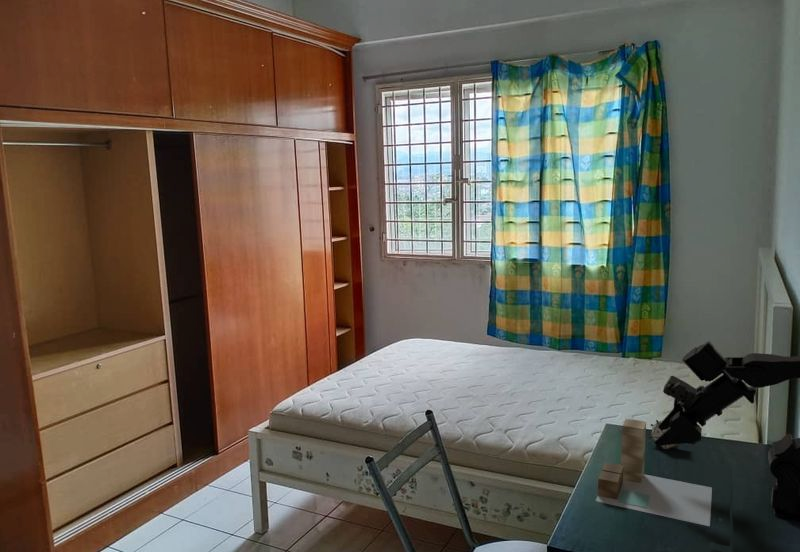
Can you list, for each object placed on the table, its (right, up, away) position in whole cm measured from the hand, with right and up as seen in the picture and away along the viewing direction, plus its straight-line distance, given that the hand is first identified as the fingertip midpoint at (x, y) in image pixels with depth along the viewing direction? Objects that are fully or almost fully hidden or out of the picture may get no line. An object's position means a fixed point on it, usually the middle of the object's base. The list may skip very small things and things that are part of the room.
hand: (657, 436), depth 139 cm
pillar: (-4, -10, +4) cm, 12 cm away
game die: (+11, -9, +20) cm, 25 cm away
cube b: (-10, -11, +1) cm, 15 cm away
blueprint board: (-2, -13, -4) cm, 13 cm away
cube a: (-12, -12, -3) cm, 17 cm away
